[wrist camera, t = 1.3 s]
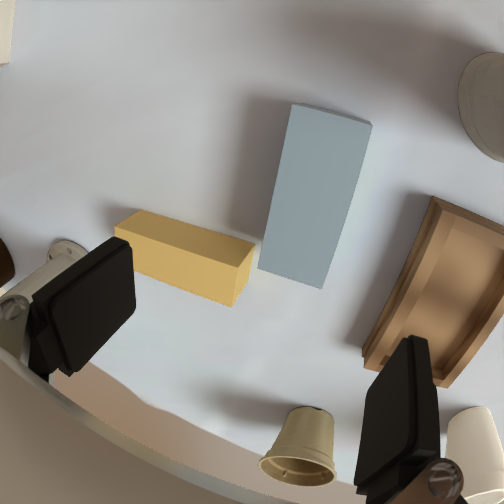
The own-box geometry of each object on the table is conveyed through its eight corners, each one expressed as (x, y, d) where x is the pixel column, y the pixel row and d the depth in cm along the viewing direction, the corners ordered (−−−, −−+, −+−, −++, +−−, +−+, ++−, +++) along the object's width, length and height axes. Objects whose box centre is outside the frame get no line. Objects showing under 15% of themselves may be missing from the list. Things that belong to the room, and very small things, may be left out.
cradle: (445, 370, 27) (448, 389, 25) (362, 348, 29) (360, 367, 27) (527, 238, 19) (540, 252, 17) (432, 195, 21) (440, 207, 19)
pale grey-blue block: (328, 260, 27) (321, 289, 23) (272, 242, 27) (257, 268, 24) (369, 121, 20) (372, 125, 17) (303, 103, 21) (292, 103, 18)
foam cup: (475, 391, 27) (487, 486, 16) (511, 408, 27) (524, 489, 16) (423, 429, 32) (420, 515, 21) (463, 442, 32) (464, 518, 21)
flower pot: (303, 388, 35) (284, 448, 27) (361, 418, 34) (353, 476, 27) (264, 416, 40) (244, 467, 32) (318, 442, 39) (304, 491, 32)
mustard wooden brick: (248, 279, 30) (231, 307, 26) (142, 243, 32) (116, 263, 28) (256, 242, 28) (238, 267, 24) (142, 208, 30) (114, 226, 26)
